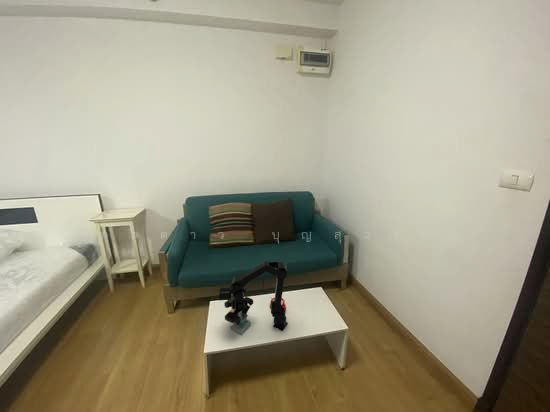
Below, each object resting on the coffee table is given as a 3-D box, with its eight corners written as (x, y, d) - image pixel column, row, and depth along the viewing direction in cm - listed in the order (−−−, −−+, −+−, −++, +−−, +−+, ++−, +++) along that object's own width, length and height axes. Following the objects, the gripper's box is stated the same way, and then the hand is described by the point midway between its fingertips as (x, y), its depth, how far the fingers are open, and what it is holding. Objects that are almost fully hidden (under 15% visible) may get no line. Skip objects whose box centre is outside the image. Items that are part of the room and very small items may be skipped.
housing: (238, 317, 135) (238, 310, 134) (248, 322, 131) (247, 314, 130) (233, 323, 131) (232, 315, 130) (242, 327, 127) (242, 320, 126)
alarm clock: (283, 294, 154) (287, 305, 140) (284, 303, 155) (288, 315, 140) (268, 296, 153) (271, 307, 138) (268, 305, 153) (271, 317, 139)
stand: (250, 325, 133) (250, 322, 133) (242, 335, 127) (241, 331, 126) (240, 320, 138) (239, 317, 137) (231, 329, 131) (230, 326, 130)
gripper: (238, 285, 139) (240, 306, 143) (216, 303, 123) (218, 326, 127) (253, 290, 133) (254, 313, 137) (231, 310, 118) (233, 335, 122)
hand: (240, 321), depth 131 cm, fingers closed on housing, 5 cm apart
